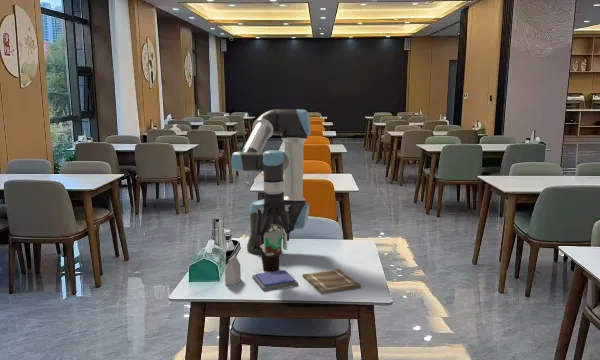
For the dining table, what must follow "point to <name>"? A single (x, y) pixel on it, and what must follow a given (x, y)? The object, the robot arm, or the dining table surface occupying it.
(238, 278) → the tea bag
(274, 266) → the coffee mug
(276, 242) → the food container
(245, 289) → the dining table surface
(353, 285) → the marked board
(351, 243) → the dining table surface
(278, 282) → the ink pad
